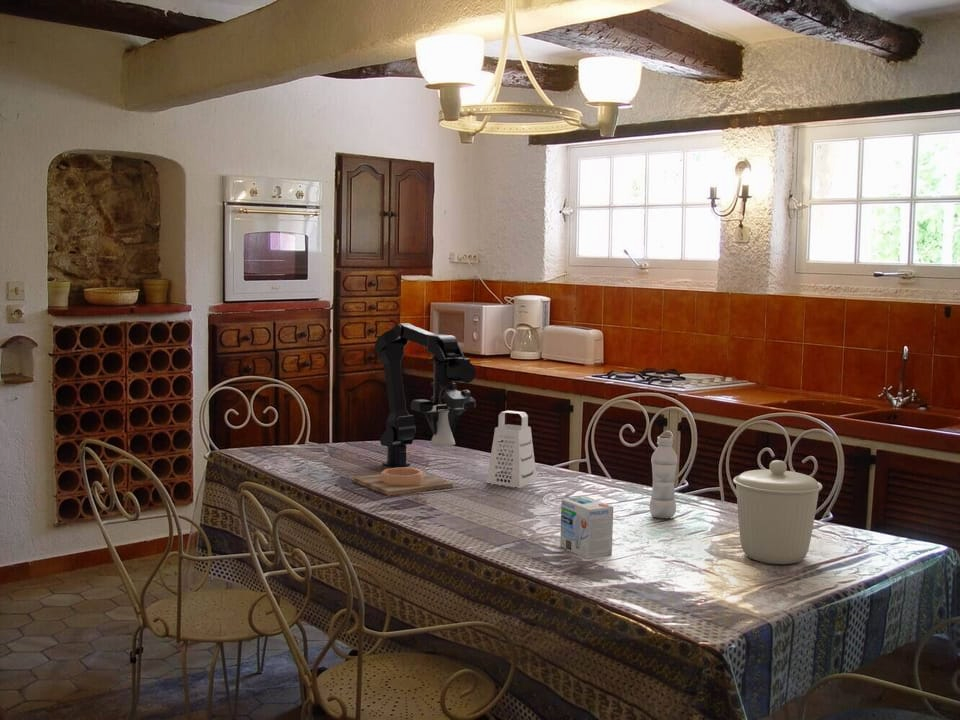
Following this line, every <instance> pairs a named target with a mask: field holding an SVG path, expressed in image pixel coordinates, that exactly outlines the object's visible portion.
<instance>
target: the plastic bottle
mask: <svg viewBox="0 0 960 720" xmlns="http://www.w3.org/2000/svg"><path fill="white" fill-rule="evenodd" d="M656 444H657V447H656V448H655V450H654V452H653V453H652V455H651V459H650V460H651V467H652V468H651V470H652V471H651V472H652V488H651V498H650V501H649V505H648V506H649V507H648V508H649V512H650V515H651V516H652V517H654V518H658V519H672V518H673V517H674V516H675V515H676V509H677V503H676V499H675V497H676V496H675V494H676V493H675V483H676V482H675V480H676V473H677V472H676V471H677V467H678V460H679V458H678V455H677V453H676V452H675V450H674V448H673V445H674V442H673V437H672V436H670V435H669V436H668V435H660V436H657V442H656Z"/></svg>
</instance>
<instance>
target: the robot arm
mask: <svg viewBox="0 0 960 720" xmlns="http://www.w3.org/2000/svg"><path fill="white" fill-rule="evenodd" d="M410 342H412V343H415V344H417V345H420V346H423V347H425V349H426V350H427V352H428V353H430V354H431V355H433V356H432V357H431V358H430V359H429V360H428V362H429V363H431V364H433V382H430V386H431V387H433V396H431V397H430V400H429V399H424V398H423V399H421V398H420V399H413V400H412V401H411V403H410V410H411V411H415V412H419V413H423V416H424V418H426V421H427V423H428V425H429V427H430V430H431V432H432V434H433V435H436V434H437V423H438V417H439V412H438V410H437V409H438V408H447V409H446V410H449V412H448V421H449V425H450V429H451V432H452V434H453V433H454V430H455V428H456V426H457V425H456V424H457V423H458V422H457V421H458V420H459V418H460V416H461V415H462V414H463V413H464V412H466V411H467V409H474V408H476V399H475V398H474V397H472V396H471V391H470V390H469V389H464V390H458V388H457V387H458V385H457V382H458V383H464V384H469V383H471V382H473V380H474V379H475V377H476V369H475V367H474V365H473V364H472V363H471V359H470V358H467V357H465V355H464V352H463V351H462V348H461V347H460V344H459V342H458V340H457V337H456V336H455V335H450V334H438V333H433V332H430V331H428V330H425V329H423V328H421V327H418V326H415V325H413V324H412V323H408V322H406V323H398V324H396V325H394V326H393V328H391V329H389V330H387V331H385V332H383V333H382V334H381V335H380V336H378V337H377V339H376V340H375V341H374V347H375V352H376V357H377V358H378V360H379V361H380V362H381V364H382V365H383V368H384V376H385V385H386V392H387V399H388V406H389V414H388V415H387V419H386V422H385V431H384V432H383V434H382V435H381V436H380V437H379V442H380V445H381V446H383V447H386V461H383V462H381V464H382V465H384V466H387V467H390V468H399V467H407V466H411V464H412V463H409V462H407V445H413V441H414V438H415V435H416V429H417V426H416V421H415V416H414V415H413V414H411V415H410V413H409V412H408V410H407V405H406V396H405V391H404V383H403V375H402V368H401V362H402V360H403V358H404V355H405V347H406V346H407V345H408V344H409V343H410ZM454 382H455V383H454ZM465 408H466V409H465Z"/></svg>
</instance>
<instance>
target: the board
mask: <svg viewBox="0 0 960 720" xmlns="http://www.w3.org/2000/svg"><path fill="white" fill-rule="evenodd" d="M352 479H353V480H352V482H353V483H356V484H358V485H360V486H362V487H365V486H366V488H367V489H370V488H371V489H370V490H373V491H375V490H376V492H378V493H380V492H381V493H380V494H383V495H385V494H386V495H385V496H387V497H391V496H390V495H393V496H398V495H397V494H400V495H404V494H403V493H407V494H412V493H411V492H415V493H420V492H419V491H422V492H427V491H426V490H430V491H434V490H433V489H437V490H441V489H440V488H445V489H449V488H448V487H452V488H453V482H450V481H447V480H444V479H442V478H439V477H436V476H434V475H430V474H428V473H425V472H424V480H423V481H422V482H421V483H417V484H409V485H397V484H388V483H385V482H383V481H381V473H380V474H371V475H363V476H355V477H353V478H352Z"/></svg>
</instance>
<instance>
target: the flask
mask: <svg viewBox="0 0 960 720" xmlns="http://www.w3.org/2000/svg"><path fill="white" fill-rule="evenodd" d="M437 412H439V414H438V417H437V434H436V435H434V434H433V435H432V438H431V440H430V445H431V446H438V447H450V446H452V447H453V446H454V445H456V442H455V441H456V440H455V438H454V436H453V433H452V432H451V429H450V425H449V421H448V412H449V410H447V409H444V408H443V409H437Z"/></svg>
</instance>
